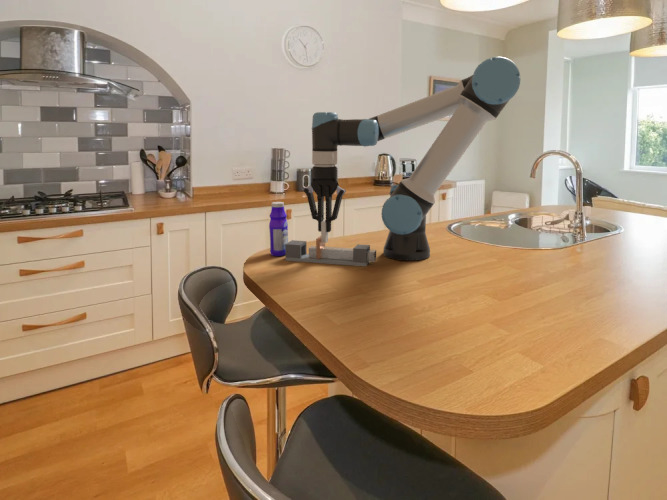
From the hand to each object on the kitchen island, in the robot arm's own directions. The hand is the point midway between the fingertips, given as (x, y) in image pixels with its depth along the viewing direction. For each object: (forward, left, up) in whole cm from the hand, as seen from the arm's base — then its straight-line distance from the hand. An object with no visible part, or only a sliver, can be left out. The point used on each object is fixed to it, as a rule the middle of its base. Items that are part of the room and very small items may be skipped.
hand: (324, 241), depth 148 cm
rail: (-1, 0, -6) cm, 6 cm away
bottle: (+17, -4, -6) cm, 19 cm away
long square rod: (-6, 0, -5) cm, 7 cm away
